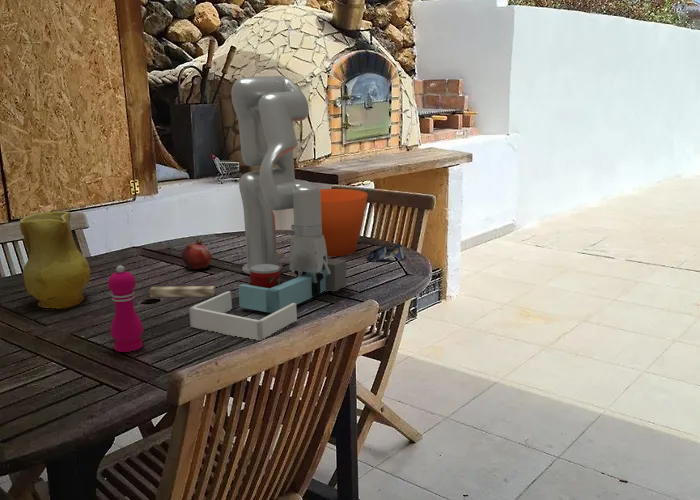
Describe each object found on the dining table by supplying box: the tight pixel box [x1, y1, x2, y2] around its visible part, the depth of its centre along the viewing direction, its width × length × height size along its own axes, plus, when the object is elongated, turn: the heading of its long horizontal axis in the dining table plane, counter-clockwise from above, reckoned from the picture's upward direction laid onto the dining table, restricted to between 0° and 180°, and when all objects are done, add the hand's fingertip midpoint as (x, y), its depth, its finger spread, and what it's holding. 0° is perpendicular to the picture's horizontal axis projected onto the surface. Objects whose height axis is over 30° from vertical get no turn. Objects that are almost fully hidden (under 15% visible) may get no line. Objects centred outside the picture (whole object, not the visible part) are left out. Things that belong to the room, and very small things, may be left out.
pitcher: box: [19, 210, 91, 310], centre depth 194 cm, size 17×19×25 cm
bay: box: [188, 290, 298, 340], centre depth 176 cm, size 15×22×5 cm
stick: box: [149, 285, 216, 298], centre depth 200 cm, size 18×3×3 cm, turn 88°
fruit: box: [181, 238, 213, 271], centre depth 226 cm, size 9×10×10 cm
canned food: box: [249, 264, 281, 288], centre depth 188 cm, size 8×8×11 cm
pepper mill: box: [107, 264, 144, 353], centre depth 161 cm, size 7×7×20 cm
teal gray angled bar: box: [238, 257, 347, 314], centre depth 195 cm, size 30×15×8 cm, turn 149°
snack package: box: [366, 243, 405, 262], centre depth 233 cm, size 12×6×12 cm
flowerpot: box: [320, 188, 369, 258], centre depth 243 cm, size 25×25×20 cm
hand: (310, 293), depth 197 cm, fingers closed on teal gray angled bar, 3 cm apart
